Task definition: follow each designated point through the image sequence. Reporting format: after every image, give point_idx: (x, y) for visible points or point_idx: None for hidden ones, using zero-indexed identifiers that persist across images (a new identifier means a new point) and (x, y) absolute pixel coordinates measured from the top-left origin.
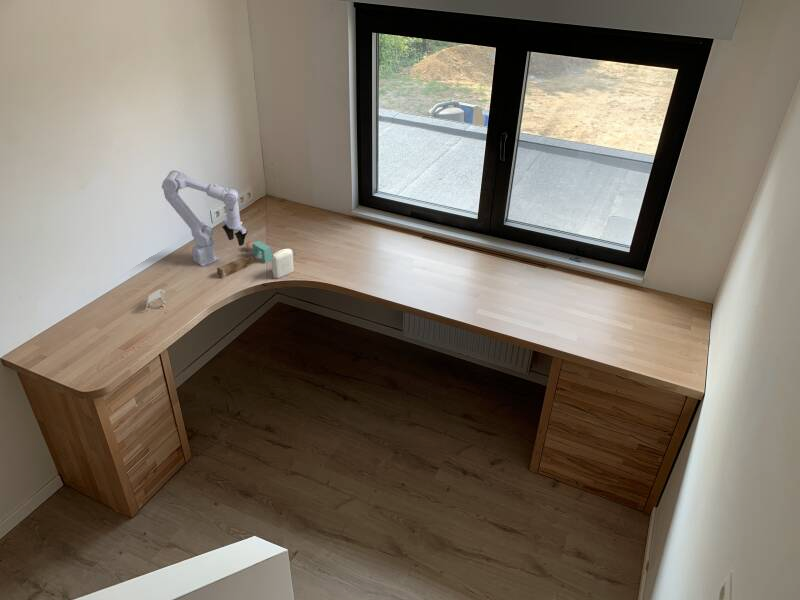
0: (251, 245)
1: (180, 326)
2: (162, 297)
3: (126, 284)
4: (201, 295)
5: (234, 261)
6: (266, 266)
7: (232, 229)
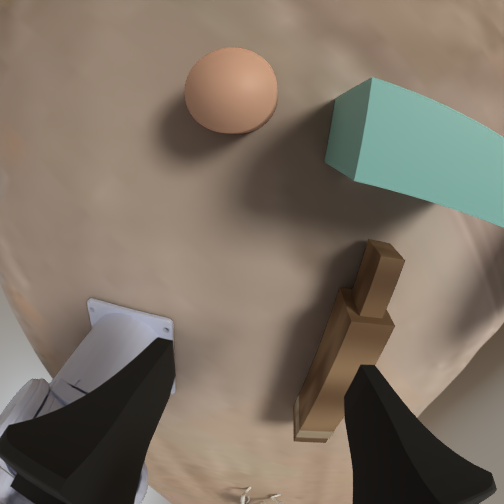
0: (262, 110)
1: None
2: (247, 490)
3: None
4: (327, 464)
5: (334, 378)
6: (467, 223)
7: (114, 442)
